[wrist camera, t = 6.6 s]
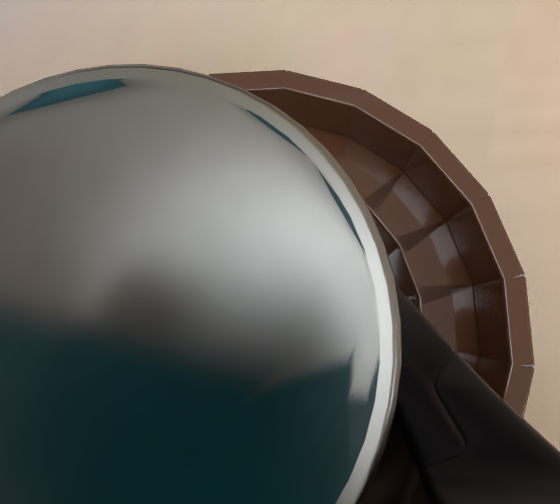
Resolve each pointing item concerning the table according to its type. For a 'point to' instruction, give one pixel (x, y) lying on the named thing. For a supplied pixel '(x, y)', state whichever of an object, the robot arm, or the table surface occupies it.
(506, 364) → the bowl
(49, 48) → the table surface
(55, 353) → the tin
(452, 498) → the robot arm
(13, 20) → the table surface
